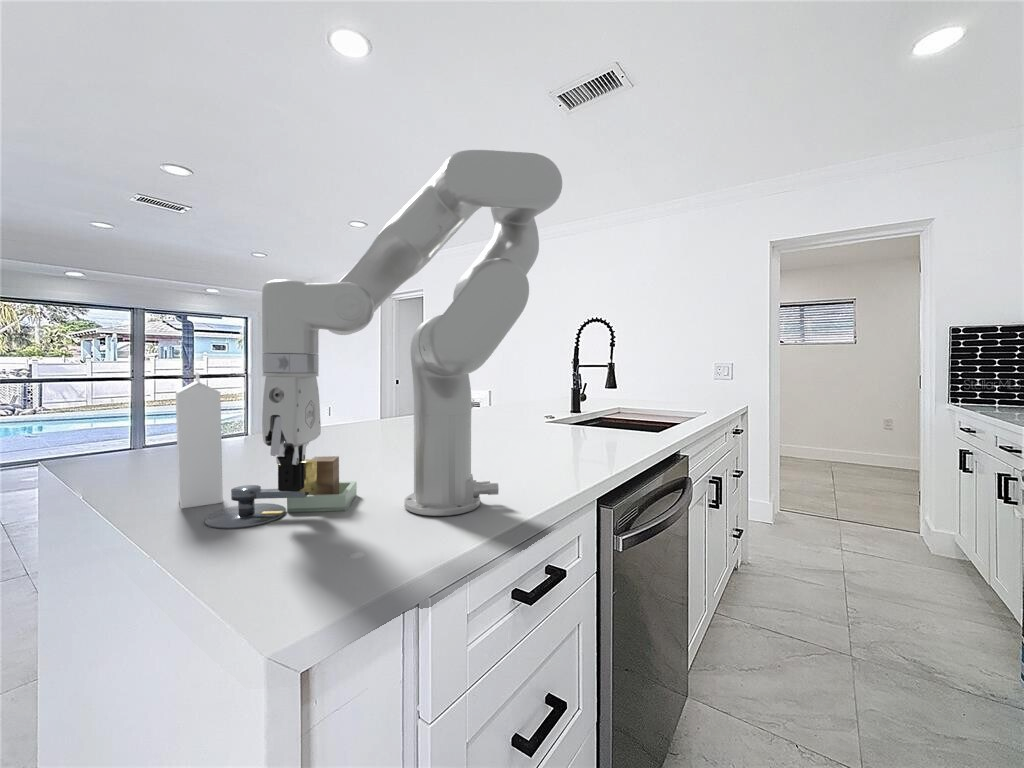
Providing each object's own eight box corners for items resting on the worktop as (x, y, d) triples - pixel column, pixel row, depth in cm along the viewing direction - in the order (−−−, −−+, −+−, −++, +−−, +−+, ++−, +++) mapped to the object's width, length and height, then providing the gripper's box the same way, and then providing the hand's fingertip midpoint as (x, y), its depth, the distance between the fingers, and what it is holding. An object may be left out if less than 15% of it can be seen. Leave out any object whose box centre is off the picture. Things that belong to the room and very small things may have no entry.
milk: (180, 509, 79) (175, 373, 78) (178, 500, 84) (173, 372, 82) (224, 502, 83) (219, 372, 81) (219, 494, 87) (215, 371, 86)
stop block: (339, 496, 85) (338, 456, 84) (333, 502, 81) (332, 461, 80) (315, 496, 84) (314, 456, 84) (308, 503, 80) (307, 461, 80)
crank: (226, 501, 73) (225, 465, 73) (238, 494, 77) (237, 459, 77) (313, 499, 74) (312, 463, 74) (320, 492, 78) (319, 458, 78)
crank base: (295, 504, 82) (295, 488, 81) (270, 527, 71) (270, 509, 71) (225, 506, 80) (225, 490, 80) (189, 530, 69) (189, 511, 69)
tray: (356, 495, 88) (356, 481, 87) (345, 510, 79) (345, 495, 79) (304, 496, 87) (304, 482, 86) (287, 512, 78) (286, 496, 77)
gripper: (295, 367, 64) (296, 505, 65) (333, 366, 79) (333, 478, 80) (238, 366, 64) (239, 504, 65) (287, 365, 79) (287, 477, 80)
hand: (291, 489), depth 72 cm, fingers closed
